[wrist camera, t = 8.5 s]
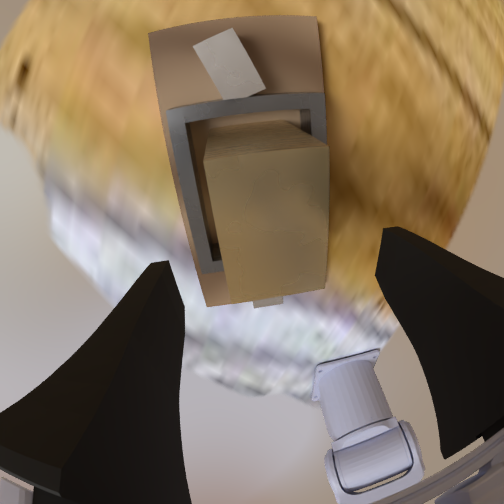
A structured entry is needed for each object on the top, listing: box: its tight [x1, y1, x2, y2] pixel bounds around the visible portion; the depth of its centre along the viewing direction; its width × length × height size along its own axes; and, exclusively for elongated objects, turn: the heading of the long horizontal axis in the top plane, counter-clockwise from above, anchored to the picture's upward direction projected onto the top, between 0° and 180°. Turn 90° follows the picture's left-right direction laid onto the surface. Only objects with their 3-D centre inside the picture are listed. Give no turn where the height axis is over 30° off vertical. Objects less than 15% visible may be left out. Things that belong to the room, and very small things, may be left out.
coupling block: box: [203, 120, 330, 304], centre depth 13 cm, size 4×6×7 cm, turn 6°
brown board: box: [148, 15, 327, 308], centre depth 15 cm, size 19×9×3 cm, turn 6°
